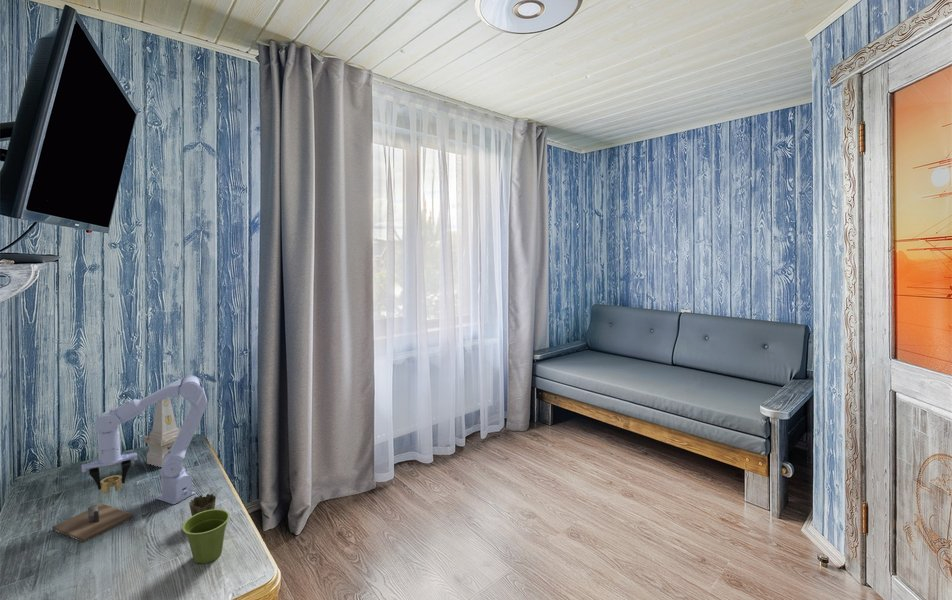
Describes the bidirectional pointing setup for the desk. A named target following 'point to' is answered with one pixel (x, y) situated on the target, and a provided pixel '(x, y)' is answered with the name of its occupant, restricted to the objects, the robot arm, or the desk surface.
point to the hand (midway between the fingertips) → (111, 485)
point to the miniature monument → (161, 433)
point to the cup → (202, 504)
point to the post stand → (93, 522)
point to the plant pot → (206, 534)
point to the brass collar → (111, 483)
